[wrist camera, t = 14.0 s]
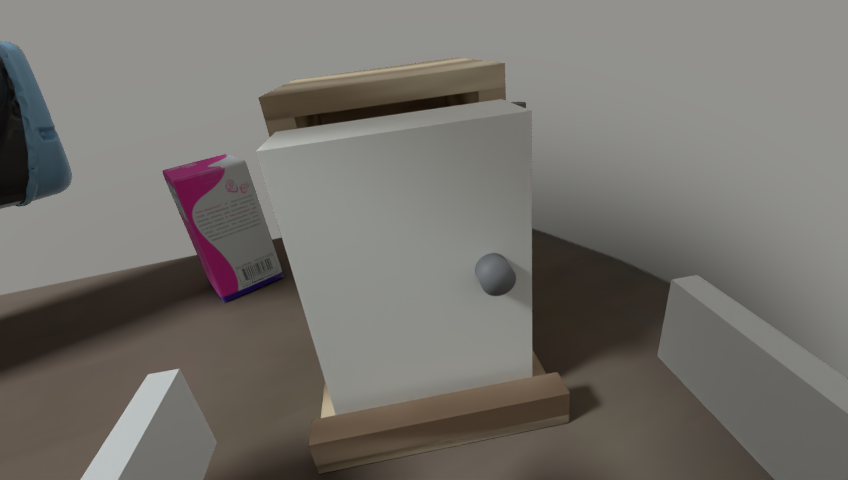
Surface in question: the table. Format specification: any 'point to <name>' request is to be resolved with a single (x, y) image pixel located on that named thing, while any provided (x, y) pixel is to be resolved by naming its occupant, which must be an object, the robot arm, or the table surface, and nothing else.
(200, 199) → the supplement box
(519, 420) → the cabinet
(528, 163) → the door
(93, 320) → the table surface
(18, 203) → the robot arm
